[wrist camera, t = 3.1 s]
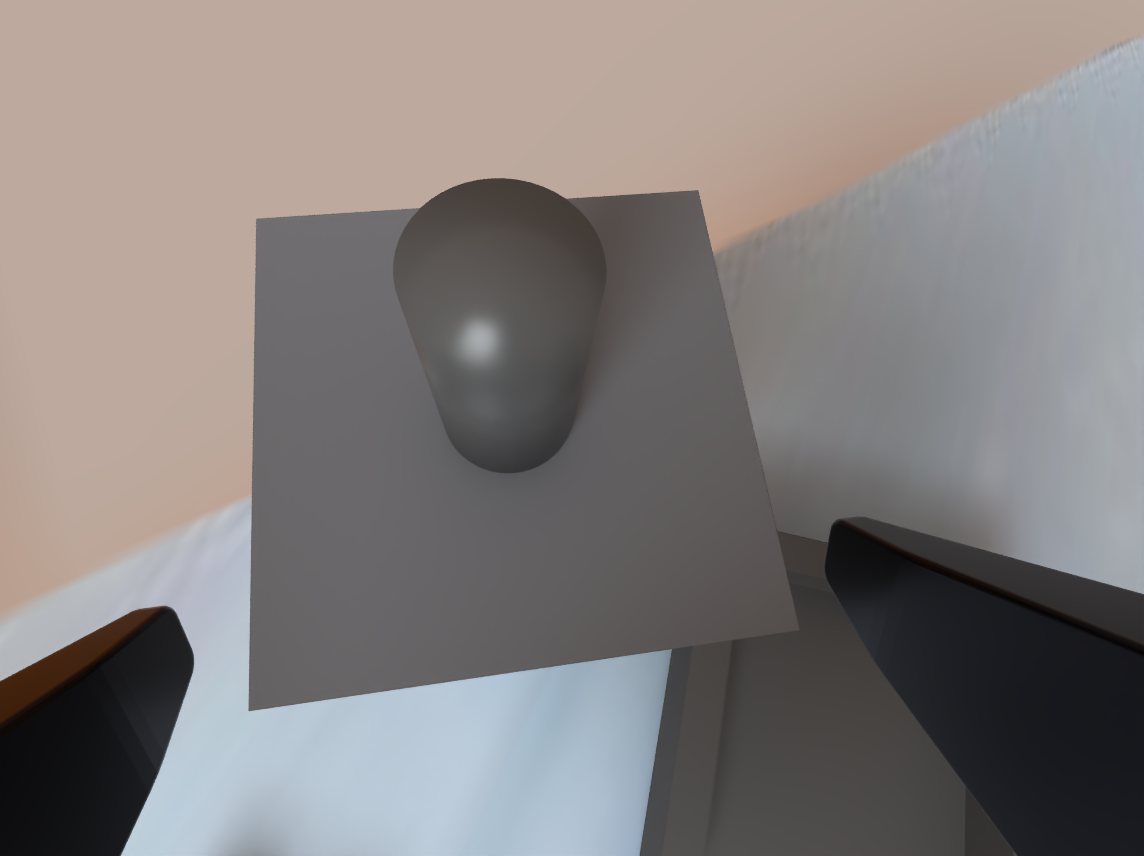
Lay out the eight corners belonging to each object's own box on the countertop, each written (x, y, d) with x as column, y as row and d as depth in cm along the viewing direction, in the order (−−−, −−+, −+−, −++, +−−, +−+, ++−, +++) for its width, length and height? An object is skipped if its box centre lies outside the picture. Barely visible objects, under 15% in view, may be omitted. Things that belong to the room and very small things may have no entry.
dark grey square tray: (987, 962, 17) (1057, 1011, 15) (635, 882, 17) (652, 918, 15) (989, 598, 20) (1047, 593, 18) (690, 529, 20) (711, 516, 18)
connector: (604, 638, 19) (1008, 632, 3) (444, 661, 18) (7, 786, 3) (582, 484, 20) (790, -38, 5) (433, 501, 20) (100, -23, 4)
